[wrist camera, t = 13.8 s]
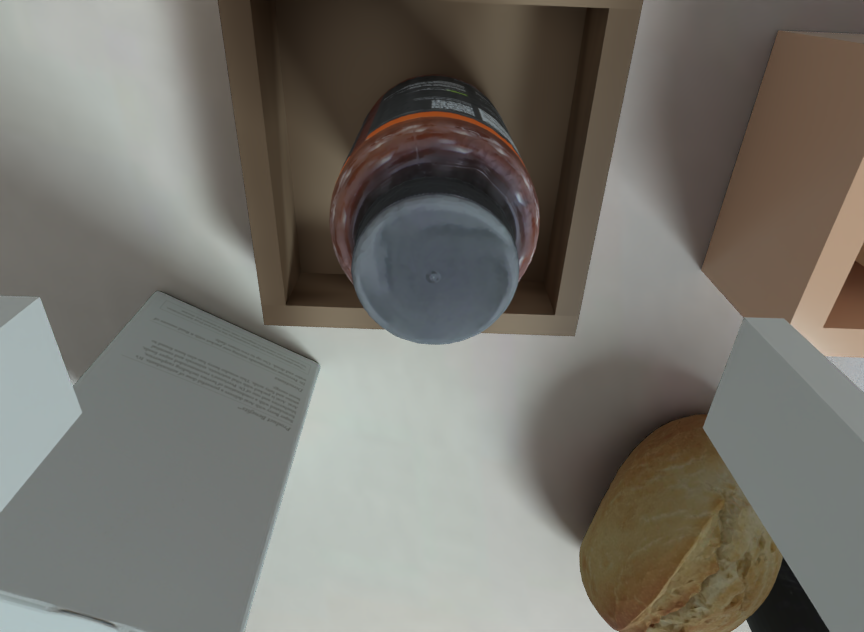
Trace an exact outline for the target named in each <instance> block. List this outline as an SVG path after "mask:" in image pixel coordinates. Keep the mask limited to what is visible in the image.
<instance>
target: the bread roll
mask: <svg viewBox="0 0 864 632" xmlns="http://www.w3.org/2000/svg"><path fill="white" fill-rule="evenodd" d="M706 418H707V414H699V415H692V416H688V417H684V418H680V419H677V420H674V421H671V422H669V423H667V424H665V425H663V426H661V427H660V428H658V429H656V430H655V431H654V432H652V433H651V434H650V435H649V436H648V437H647V438H645V439H644V440H643V441H642V442H641V443H640V444H639V445H638V446H637V447H636V448H635V449H634V450H633V451H632V453H631V454H630V455H629V456H628V458H627V459H626V460H625V462H624V463H623V464H622V466H621V467H620V468H619V470H618V472H617V474H616V476H615V478H614V480H613V481H612V483H611V484H610V487H609V489H608V491H607V492H606V494H605V496H604V497H603V499H602V501H601V503H600V506H599V508H598V510H597V512H596V514H595V516H594V518H593V521H592V522H591V524H590V526H589V528H588V530H587V533H586V535H585V537H584V539H583V541H582V544H581V547H580V555H579V557H580V572H581V577H582V582H583V584H584V587H585V590H586V592H587V595H588V597H589V599H590V601H591V602H592V604H593V605H594V607H595V608H596V610H597V611H598V613H599V614H600V615H601V617H602V618H603V619H604V620H605V621H606V622H607V623H608V624H609V625H610V627H612V628H613V629H614V630H617V631H619V632H731V631H732V630H734V629H736V628H737V627H738V626H739V625H741V624H742V623H743V622H744V621H745V620H746V619H747V618H748V617H749V616H751V615H752V614H753V613H754V612H755V611H756V610H757V609H758V608H759V607H760V605H761V604H762V603H763V602H764V601H765V599H766V598H767V596H768V595H769V593H770V591H771V589H772V587H773V585H774V583H775V581H776V578H777V575H778V572H779V570H780V567H781V563H782V559H783V556H782V554H781V552H780V551H779V549H778V548H777V546H776V544H775V543H774V541H773V540H772V538H771V536H770V535H769V533H768V532H767V530H766V528H765V527H764V525H763V524H762V522H761V520H760V519H759V517H758V516H757V514H756V512H755V511H754V509H753V508H752V506H751V504H750V503H749V501H748V500H747V498H746V496H745V495H744V493H743V492H742V490H741V488H740V487H739V485H738V484H737V482H736V480H735V479H734V477H733V476H732V474H731V472H730V471H729V469H728V468H727V466H726V464H725V463H724V461H723V460H722V458H721V456H720V455H719V453H718V452H717V450H716V448H715V447H714V445H713V444H712V442H711V440H710V439H709V437H708V436H707V434H706V432H705V431H704V429H703V426H704V423H705V420H706Z"/></svg>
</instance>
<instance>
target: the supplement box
mask: <svg viewBox="0 0 864 632" xmlns="http://www.w3.org/2000/svg"><path fill="white" fill-rule="evenodd" d="M319 371H320V365H319V364H318V363H316V362H314V361H312V360H310V359H308V358H305V357H303V356H301V355H299V354H296V353H294V352H292V351H290V350H287V349H285V348H283V347H281V346H279V345H277V344H274V343H272V342H270V341H268V340H266V339H264V338H261V337H259V336H257V335H255V334H253V333H250V332H248V331H246V330H244V329H242V328H239V327H237V326H235V325H233V324H231V323H228V322H226V321H224V320H222V319H220V318H217V317H215V316H213V315H211V314H209V313H206V312H204V311H202V310H200V309H198V308H195V307H193V306H191V305H189V304H187V303H185V302H182V301H180V300H178V299H176V298H174V297H171V296H169V295H167V294H165V293H163V292H160V291H156V292H155V293H154V294H153V295H152V296H151V297H150V298H149V299H148V300H147V302H146V303H145V304H144V305H143V306H142V308H141V309H140V310H139V311H138V312H137V313H136V315H135V316H134V317H133V318H132V319H131V320H130V321H129V322H128V324H127V325H126V326H125V327H124V328H123V329H122V330H121V331H120V333H119V334H118V335H117V336H116V337H115V339H114V340H113V341H112V342H111V343H110V344H109V345H108V347H107V348H106V349H105V350H104V351H103V352H102V353H101V355H100V356H99V357H98V358H97V359H96V360H95V361H94V363H93V364H92V365H91V366H90V367H89V368H88V370H87V371H86V372H85V373H84V374H83V375H82V376H81V378H80V379H79V380H78V381H77V382H76V383H75V384H74V386H73V389H74V391H75V394H76V397H77V400H78V402H79V405H80V408H81V411H82V414H81V415H80V416H79V417H78V418H77V420H76V421H75V422H74V423H73V425H72V426H71V427H70V428H69V429H68V431H67V432H66V433H65V434H64V436H63V437H62V438H61V439H60V440H59V442H58V443H57V444H56V445H55V447H54V448H53V449H52V450H51V451H50V453H49V454H48V455H47V456H46V458H45V459H44V460H43V461H42V462H41V464H40V465H39V466H38V467H37V469H36V470H35V471H34V472H33V473H32V475H31V476H30V477H29V478H28V480H27V481H26V482H25V483H24V484H23V486H22V487H21V488H20V489H19V490H18V492H17V493H16V494H15V495H14V497H13V498H12V499H11V500H10V501H9V503H8V504H7V505H6V506H5V508H4V509H3V510H2V511H1V512H0V632H245V628H246V624H247V620H248V617H249V613H250V609H251V606H252V602H253V599H254V595H255V592H256V588H257V585H258V581H259V578H260V574H261V570H262V567H263V563H264V560H265V556H266V553H267V549H268V546H269V542H270V539H271V536H272V532H273V529H274V525H275V522H276V519H277V515H278V512H279V508H280V505H281V501H282V498H283V494H284V491H285V487H286V484H287V480H288V477H289V473H290V469H291V466H292V463H293V459H294V456H295V452H296V449H297V445H298V442H299V438H300V435H301V432H302V429H303V425H304V422H305V418H306V415H307V411H308V408H309V404H310V401H311V397H312V394H313V390H314V387H315V383H316V380H317V377H318V374H319Z"/></svg>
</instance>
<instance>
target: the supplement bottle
mask: <svg viewBox="0 0 864 632" xmlns="http://www.w3.org/2000/svg"><path fill="white" fill-rule="evenodd" d="M329 226H330V234H331V240H332V244H333V249H334V251H335V254H336V257H337V259H338V261H339V263H340V265H341V267H342V269H343V271H344V272H345V274H346V275H347V277H348V278H349V280H350V281H351V282H352V284H353V285H354V288H355V291H356V294H357V297H358V299H359V301H360V303H361V304H362V306H363V308H364V309H365V310H366V312H367V313H368V315H369V316H370V317H371V318H372V319H373V320H374V321H375V322H376V323H378V324H379V325H380V326H381V327H382V328H384V329H386V330H387V331H389V332H390V333H392V334H393V335H395V336H397V337H399V338H402V339H405V340H409V341H412V342H416V343H420V344H435V345H439V344H450V343H454V342H459V341H462V340H465V339H468V338H470V337H473V336H475V335H477V334H479V333H481V332H483V331H484V330H486V329H487V328H488V327H490V326H491V325H492V324H493V323H494V322H495V321H496V320H497V319H498V318H499V317H500V316H501V315H502V313H504V312H505V310H506V309H507V307H508V306H509V304H510V302H511V300H512V299H513V296H514V294H515V291H516V288H517V286H518V282H519V281H520V279H521V277H522V276H523V275H524V273H525V271H526V269H527V268H528V266H529V264H530V262H531V261H532V257H533V254H534V252H535V249H536V244H537V240H538V235H539V226H540V215H539V204H538V198H537V194H536V191H535V187H534V185H533V182H532V180H531V177H530V175H529V173H528V171H527V169H526V167H525V165H524V163H523V161H522V158H521V157H520V155H519V153H518V151H517V148H516V146H515V144H514V142H513V140H512V138H511V136H510V134H509V132H508V130H507V128H506V126H505V124H504V122H503V120H502V118H501V116H500V114H499V113H498V111H497V110H496V108H495V107H494V105H493V104H492V103H491V101H490V100H489V99H488V98H487V97H486V96H485V95H484V94H483V93H482V92H480V91H479V90H478V89H477V88H476V87H475V86H473V85H471V84H469V83H467V82H465V81H463V80H461V79H458V78H454V77H451V76H446V75H439V74H432V75H420V76H417V77H412V78H409V79H406V80H404V81H402V82H400V83H399V84H397V85H395V86H394V87H392V88H391V89H389V90H388V91H387V92H386V93H385V94H384V95H382V96H381V98H380V99H379V100H378V101H377V102H376V103H375V105H374V106H373V107H372V109H371V110H370V112H369V113H368V115H367V116H366V118H365V120H364V122H363V124H362V127H361V129H360V131H359V133H358V135H357V137H356V140H355V142H354V144H353V146H352V148H351V150H350V152H349V154H348V156H347V158H346V160H345V162H344V164H343V167H342V169H341V172H340V174H339V177H338V179H337V181H336V184H335V187H334V190H333V193H332V198H331V205H330V218H329Z"/></svg>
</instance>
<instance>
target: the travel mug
mask: <svg viewBox="0 0 864 632" xmlns="http://www.w3.org/2000/svg"><path fill="white" fill-rule="evenodd" d="M746 620H747V622H748V624H749V627H750V629H751V631H752V632H830V631H829V629H828V628H827V626H826V625H825V623H824V621H823V620H822V618H821V617H820V615H819V613H818V612H817V610H816V609H815V607H814V605H813V604H812V602H811V601H810V599H809V597H808V596H807V594H806V593H805V591H804V589H803V588H802V586H801V585H800V583H799V581H798V580H797V578H796V577H795V575H794V573H793V572H792V570H791V569H790V567H789V565H788V564H787V562H786V561H785V559H784V557H783V559H782V563H781V567H780V570H779V572H778V575H777V578H776V581H775V583H774V585H773V587H772V589H771V591H770V593H769V595H768V596H767V598H766V599H765V601H764V602H763V603H762V604H761V605H760V607H759V608H758V609H757V610H756V611H755V612H754V613H753V614H752V615H751V616H749V617H748V618H747V619H746Z"/></svg>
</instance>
